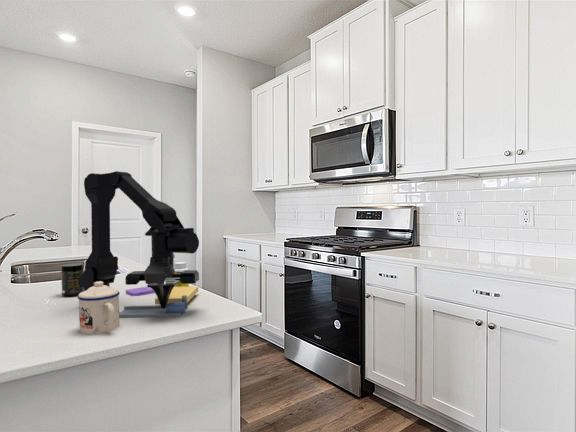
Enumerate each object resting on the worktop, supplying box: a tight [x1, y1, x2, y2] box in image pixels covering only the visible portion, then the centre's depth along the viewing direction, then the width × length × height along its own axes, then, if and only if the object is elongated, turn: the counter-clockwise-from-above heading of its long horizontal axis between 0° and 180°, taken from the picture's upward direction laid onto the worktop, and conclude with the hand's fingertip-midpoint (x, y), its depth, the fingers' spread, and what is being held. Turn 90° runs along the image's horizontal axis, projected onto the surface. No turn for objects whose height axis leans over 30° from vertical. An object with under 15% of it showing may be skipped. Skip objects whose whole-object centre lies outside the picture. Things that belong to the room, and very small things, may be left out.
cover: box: [154, 285, 199, 305], centre depth 116 cm, size 17×9×2 cm, turn 1°
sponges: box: [125, 286, 156, 297], centre depth 131 cm, size 7×13×2 cm, turn 132°
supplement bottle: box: [174, 261, 190, 287], centre depth 130 cm, size 6×6×10 cm
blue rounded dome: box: [166, 302, 186, 315], centre depth 104 cm, size 5×5×2 cm
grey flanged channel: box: [119, 304, 189, 319], centre depth 103 cm, size 18×9×1 cm, turn 91°
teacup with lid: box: [77, 281, 120, 335], centre depth 90 cm, size 12×9×12 cm
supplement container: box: [60, 262, 85, 298], centre depth 127 cm, size 7×7×10 cm
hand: (163, 308), depth 103 cm, fingers closed
